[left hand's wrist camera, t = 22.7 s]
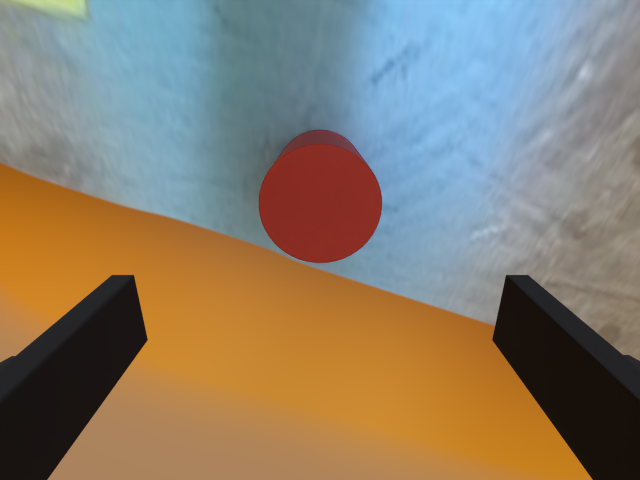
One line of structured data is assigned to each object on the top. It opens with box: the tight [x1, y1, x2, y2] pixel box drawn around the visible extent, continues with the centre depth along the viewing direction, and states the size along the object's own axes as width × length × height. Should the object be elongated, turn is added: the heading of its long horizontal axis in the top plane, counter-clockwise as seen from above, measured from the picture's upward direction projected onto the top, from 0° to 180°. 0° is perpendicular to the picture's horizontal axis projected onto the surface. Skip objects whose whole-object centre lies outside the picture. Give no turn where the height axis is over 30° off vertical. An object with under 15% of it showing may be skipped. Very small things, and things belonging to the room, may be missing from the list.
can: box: [259, 130, 382, 263], centre depth 30 cm, size 9×9×12 cm
